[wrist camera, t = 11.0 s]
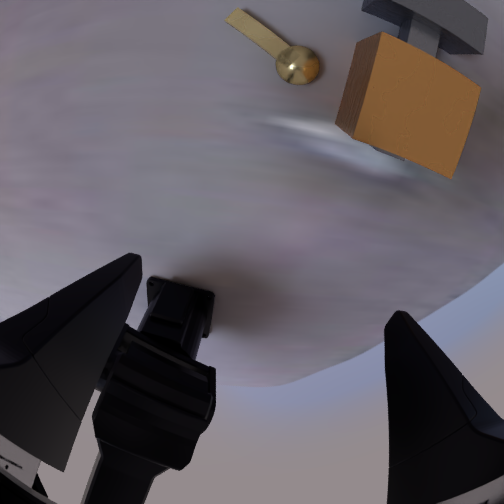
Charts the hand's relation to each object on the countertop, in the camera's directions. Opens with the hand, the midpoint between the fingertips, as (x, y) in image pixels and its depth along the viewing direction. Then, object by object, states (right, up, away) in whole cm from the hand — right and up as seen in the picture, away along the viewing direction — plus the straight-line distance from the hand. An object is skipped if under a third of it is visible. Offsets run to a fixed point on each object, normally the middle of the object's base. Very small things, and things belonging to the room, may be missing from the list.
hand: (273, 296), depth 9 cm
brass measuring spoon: (0, +15, +5) cm, 15 cm away
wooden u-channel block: (+8, +11, +6) cm, 15 cm away
